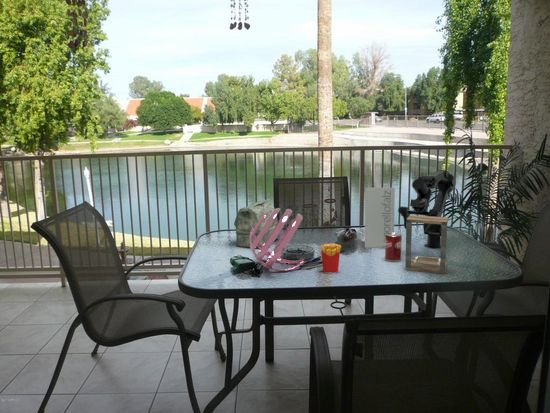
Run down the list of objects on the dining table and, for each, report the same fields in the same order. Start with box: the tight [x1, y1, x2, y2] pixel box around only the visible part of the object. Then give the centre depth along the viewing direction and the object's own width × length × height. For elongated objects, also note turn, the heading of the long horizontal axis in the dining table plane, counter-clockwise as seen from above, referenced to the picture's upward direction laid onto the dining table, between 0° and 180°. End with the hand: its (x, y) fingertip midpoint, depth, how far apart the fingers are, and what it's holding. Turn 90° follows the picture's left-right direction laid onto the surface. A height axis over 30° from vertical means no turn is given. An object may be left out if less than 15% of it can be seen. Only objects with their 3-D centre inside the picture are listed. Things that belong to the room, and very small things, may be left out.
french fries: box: [320, 243, 342, 274], centre depth 195 cm, size 8×4×12 cm, turn 85°
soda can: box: [384, 232, 403, 263], centre depth 208 cm, size 7×7×12 cm
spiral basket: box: [249, 207, 305, 272], centre depth 201 cm, size 28×28×27 cm
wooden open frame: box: [404, 214, 449, 275], centre depth 196 cm, size 16×16×22 cm
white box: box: [364, 187, 396, 249], centre depth 229 cm, size 14×6×30 cm, turn 76°
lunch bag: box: [233, 199, 280, 249], centre depth 245 cm, size 26×18×22 cm
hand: (414, 229), depth 207 cm, fingers open, 9 cm apart
